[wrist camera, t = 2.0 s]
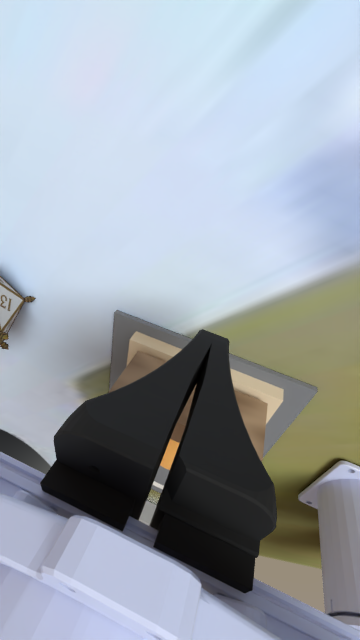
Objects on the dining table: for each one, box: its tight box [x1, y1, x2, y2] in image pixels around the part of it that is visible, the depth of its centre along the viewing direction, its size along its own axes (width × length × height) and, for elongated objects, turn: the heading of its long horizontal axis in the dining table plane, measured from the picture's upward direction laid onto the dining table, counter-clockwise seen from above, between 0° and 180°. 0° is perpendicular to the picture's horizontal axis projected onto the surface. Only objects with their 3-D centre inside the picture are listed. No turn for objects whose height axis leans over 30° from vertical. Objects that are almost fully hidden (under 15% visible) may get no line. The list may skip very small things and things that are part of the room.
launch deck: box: [109, 310, 318, 526], centre depth 30 cm, size 16×34×2 cm, turn 168°
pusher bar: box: [108, 351, 268, 461], centre depth 19 cm, size 10×2×4 cm, turn 78°
